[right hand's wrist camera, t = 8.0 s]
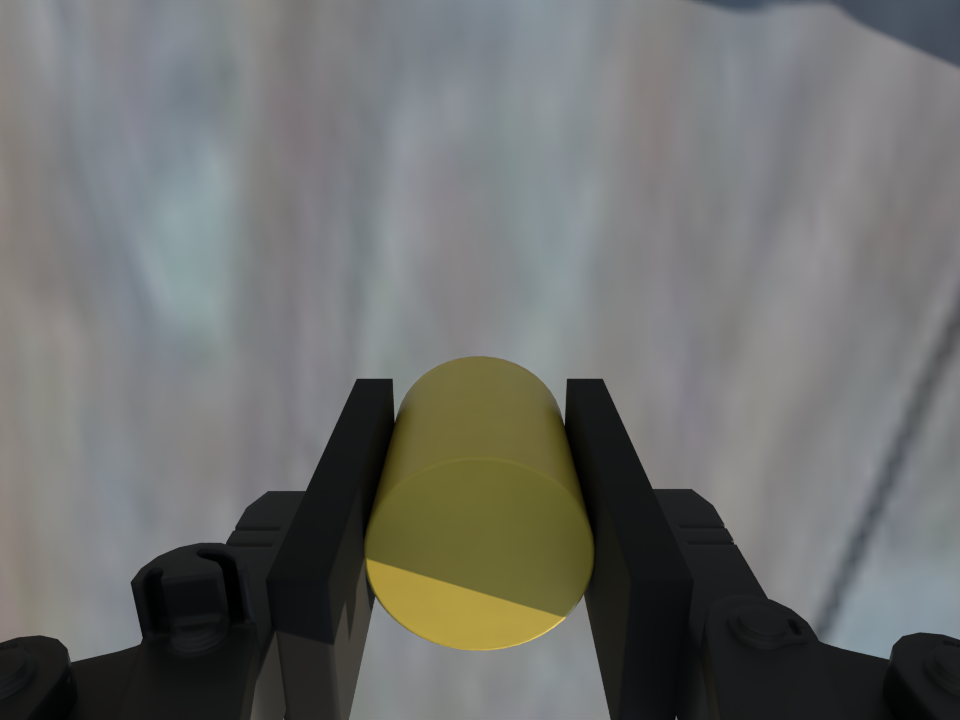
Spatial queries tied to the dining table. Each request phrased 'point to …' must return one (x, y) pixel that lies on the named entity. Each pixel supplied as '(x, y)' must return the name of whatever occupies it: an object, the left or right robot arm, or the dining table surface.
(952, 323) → the dining table surface
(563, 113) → the dining table surface
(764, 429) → the dining table surface
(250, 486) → the dining table surface
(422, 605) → the canister
